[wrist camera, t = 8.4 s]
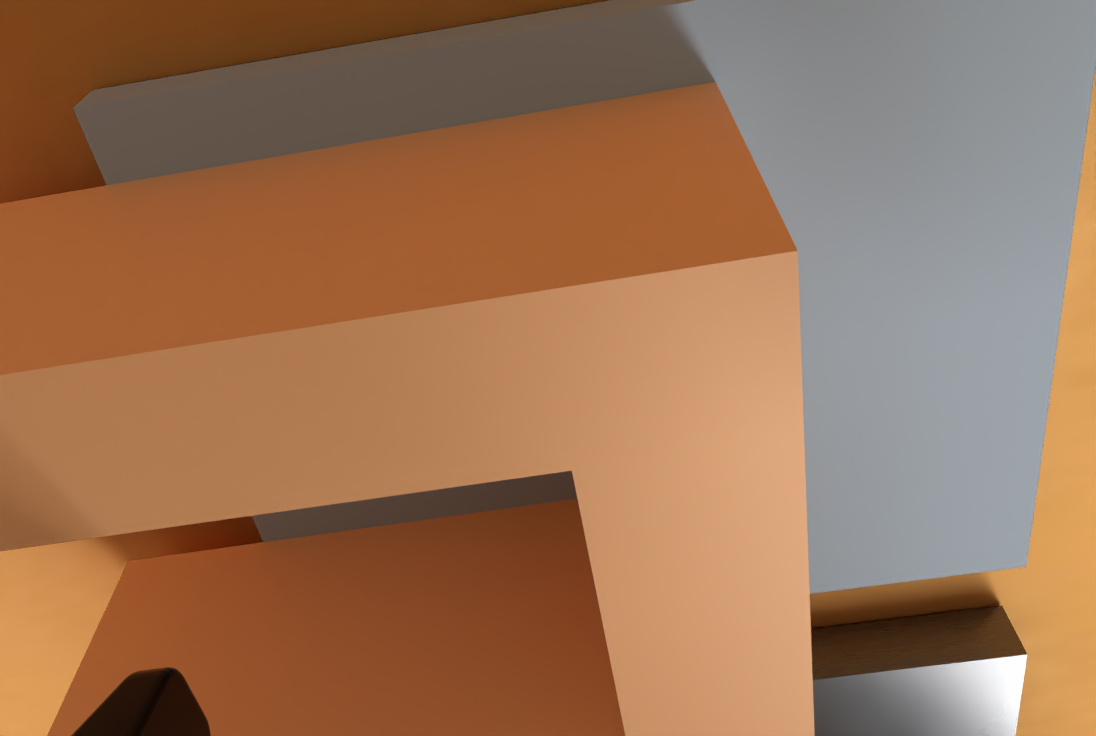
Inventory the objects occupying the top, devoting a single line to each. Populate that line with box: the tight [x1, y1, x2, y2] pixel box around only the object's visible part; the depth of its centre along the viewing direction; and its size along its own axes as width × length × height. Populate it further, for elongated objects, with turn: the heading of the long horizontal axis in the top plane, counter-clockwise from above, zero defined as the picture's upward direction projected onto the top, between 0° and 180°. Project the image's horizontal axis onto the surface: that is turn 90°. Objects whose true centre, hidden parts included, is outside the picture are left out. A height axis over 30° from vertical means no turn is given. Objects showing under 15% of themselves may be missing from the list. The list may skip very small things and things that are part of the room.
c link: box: [0, 82, 815, 736], centre depth 12 cm, size 7×9×4 cm
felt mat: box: [73, 0, 1096, 594], centre depth 13 cm, size 9×11×1 cm
